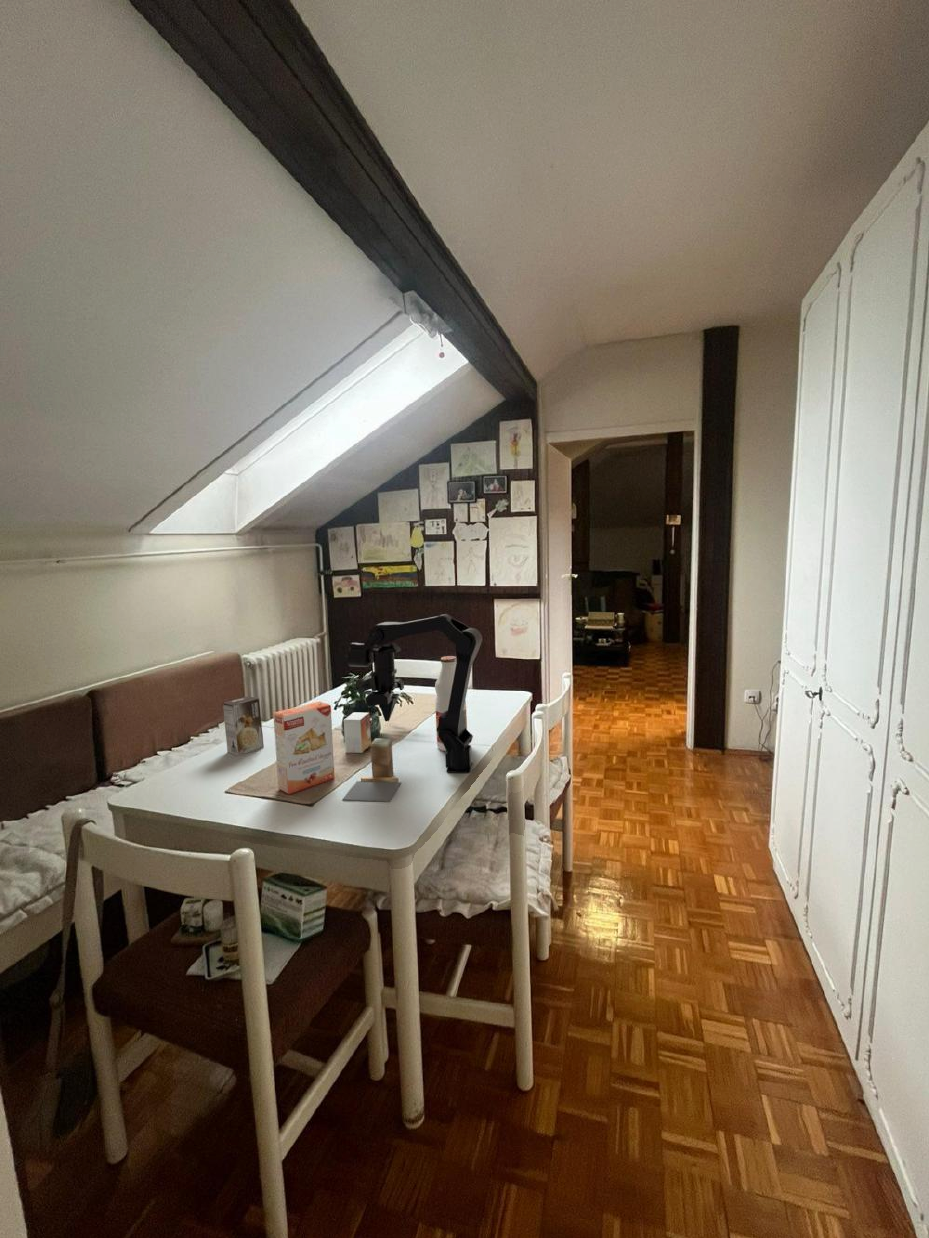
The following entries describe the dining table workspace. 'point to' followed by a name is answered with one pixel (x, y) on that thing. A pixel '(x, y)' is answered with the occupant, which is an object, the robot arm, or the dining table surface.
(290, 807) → the dining table surface
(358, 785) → the mat
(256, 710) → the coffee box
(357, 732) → the small box
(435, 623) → the robot arm
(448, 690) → the fruit juice
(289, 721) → the cracker box
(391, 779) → the kerb
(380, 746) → the walnut block
